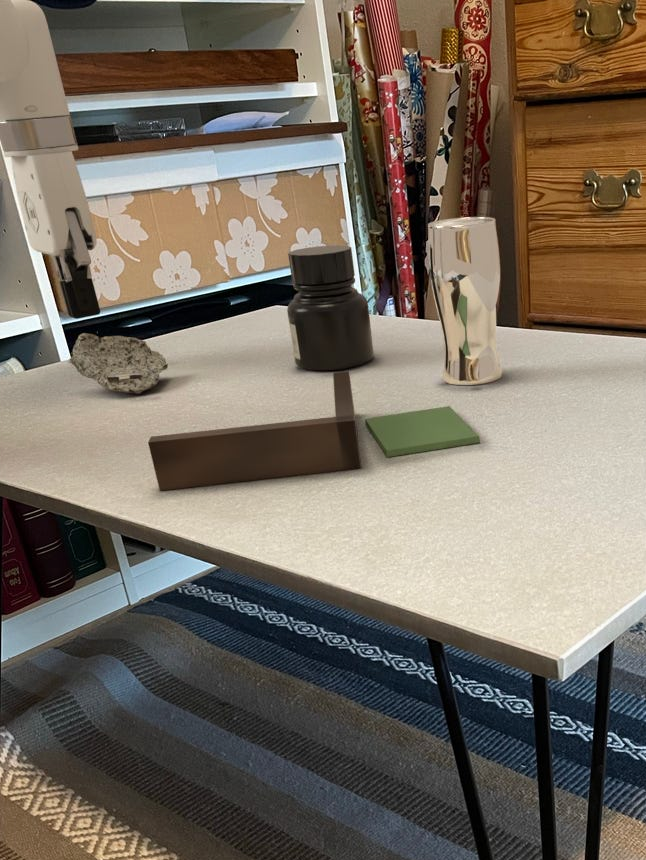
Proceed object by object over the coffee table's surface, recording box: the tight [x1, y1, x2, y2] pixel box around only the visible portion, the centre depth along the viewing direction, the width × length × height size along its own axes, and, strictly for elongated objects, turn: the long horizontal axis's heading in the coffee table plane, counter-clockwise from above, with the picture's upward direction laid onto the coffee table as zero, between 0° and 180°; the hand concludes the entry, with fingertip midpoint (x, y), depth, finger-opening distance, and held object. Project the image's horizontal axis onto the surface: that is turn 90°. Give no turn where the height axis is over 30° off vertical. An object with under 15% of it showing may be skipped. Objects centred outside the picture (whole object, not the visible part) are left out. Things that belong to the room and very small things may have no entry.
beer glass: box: [427, 216, 503, 386], centre depth 98 cm, size 7×7×15 cm
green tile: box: [364, 405, 481, 458], centre depth 86 cm, size 8×10×1 cm
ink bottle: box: [286, 244, 375, 371], centre depth 108 cm, size 10×9×12 cm
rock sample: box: [67, 331, 169, 395], centre depth 106 cm, size 10×8×9 cm
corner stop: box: [147, 370, 362, 492], centre depth 84 cm, size 16×16×4 cm
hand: (85, 315), depth 113 cm, fingers closed
